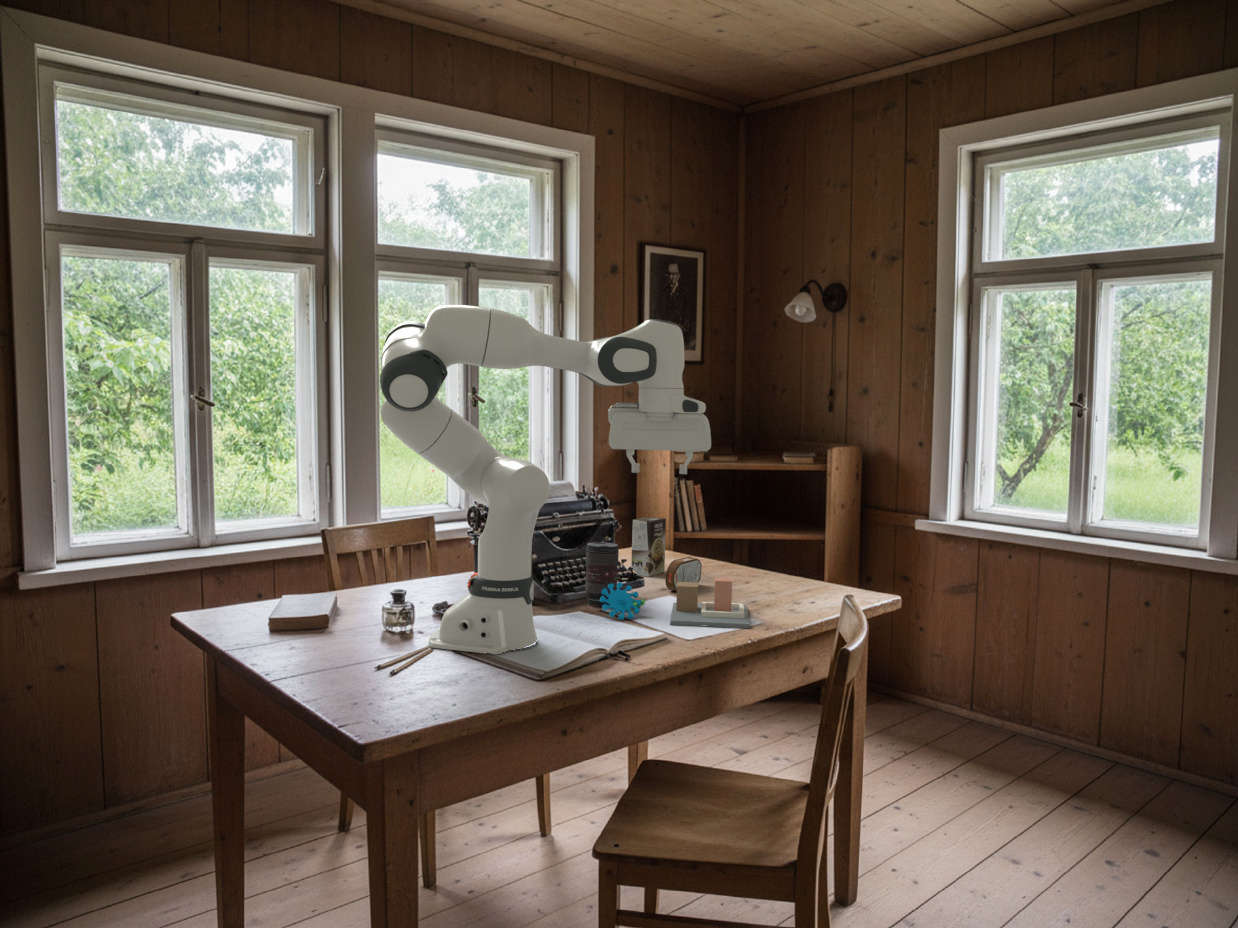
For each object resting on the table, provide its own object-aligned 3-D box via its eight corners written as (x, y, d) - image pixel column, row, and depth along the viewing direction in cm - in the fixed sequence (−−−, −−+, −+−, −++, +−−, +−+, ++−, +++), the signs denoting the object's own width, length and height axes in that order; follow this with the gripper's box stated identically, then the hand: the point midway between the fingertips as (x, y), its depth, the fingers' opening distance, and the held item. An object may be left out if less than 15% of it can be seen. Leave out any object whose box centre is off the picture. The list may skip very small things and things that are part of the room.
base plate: (670, 624, 214) (670, 594, 213) (673, 606, 231) (674, 578, 231) (749, 628, 212) (750, 598, 211) (746, 609, 230) (747, 581, 229)
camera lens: (621, 606, 231) (623, 546, 229) (590, 608, 228) (591, 547, 227) (611, 598, 238) (612, 540, 237) (581, 600, 236) (582, 541, 234)
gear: (601, 614, 215) (600, 578, 221) (595, 627, 219) (594, 591, 226) (647, 619, 217) (645, 583, 224) (640, 632, 222) (638, 596, 228)
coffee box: (649, 577, 266) (650, 521, 265) (630, 574, 270) (631, 519, 269) (665, 572, 274) (666, 517, 273) (646, 569, 278) (648, 515, 276)
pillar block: (713, 614, 220) (714, 580, 220) (713, 610, 224) (714, 577, 224) (731, 614, 220) (732, 581, 219) (730, 610, 224) (731, 577, 223)
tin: (693, 583, 259) (694, 553, 258) (703, 585, 257) (704, 555, 257) (663, 592, 247) (664, 561, 246) (673, 594, 245) (674, 563, 244)
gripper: (606, 402, 182) (605, 473, 183) (712, 404, 180) (710, 476, 181) (610, 401, 188) (608, 470, 189) (712, 404, 186) (710, 473, 187)
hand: (659, 473), depth 185 cm, fingers open, 8 cm apart
